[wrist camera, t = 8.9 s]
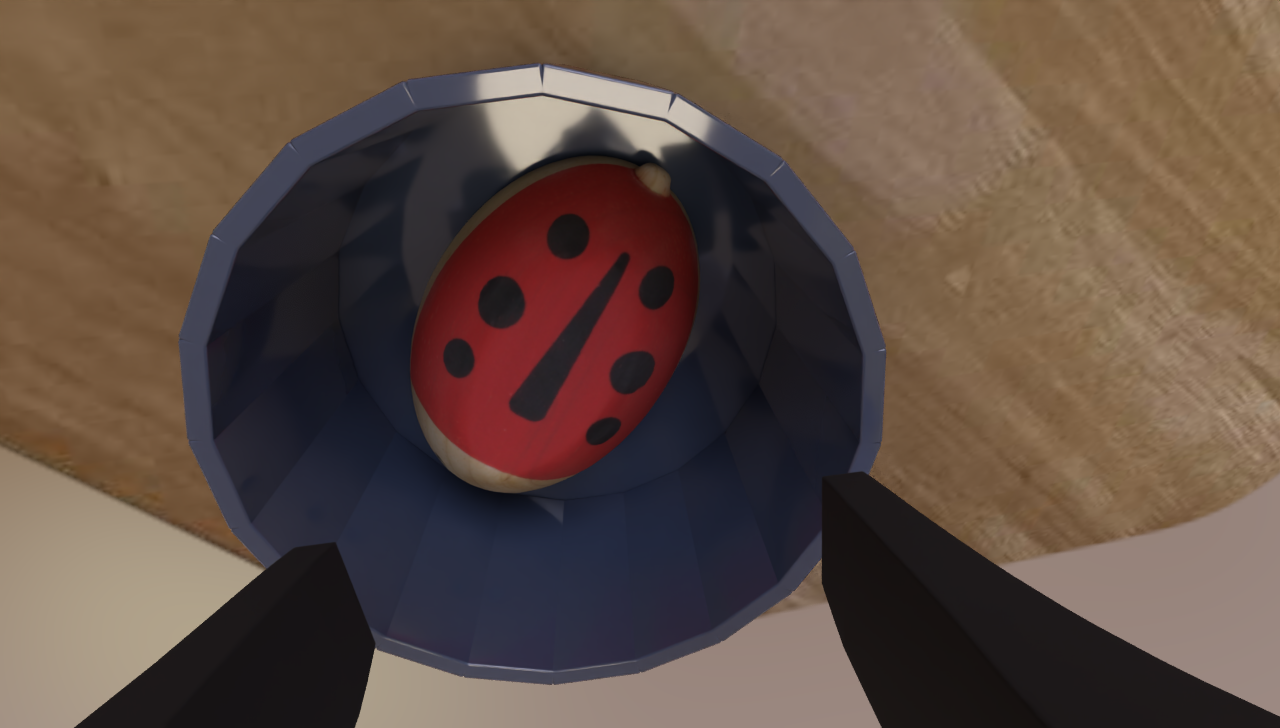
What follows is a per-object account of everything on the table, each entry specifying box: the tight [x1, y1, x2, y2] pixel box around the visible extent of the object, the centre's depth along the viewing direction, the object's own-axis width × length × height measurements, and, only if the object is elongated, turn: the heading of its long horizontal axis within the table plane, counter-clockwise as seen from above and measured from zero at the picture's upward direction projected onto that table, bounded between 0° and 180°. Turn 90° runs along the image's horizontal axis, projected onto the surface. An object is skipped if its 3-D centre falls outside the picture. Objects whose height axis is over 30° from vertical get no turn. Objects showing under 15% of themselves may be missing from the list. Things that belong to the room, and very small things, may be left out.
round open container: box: [178, 63, 886, 685], centre depth 15 cm, size 13×13×7 cm
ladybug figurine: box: [410, 156, 700, 493], centre depth 16 cm, size 7×10×4 cm
